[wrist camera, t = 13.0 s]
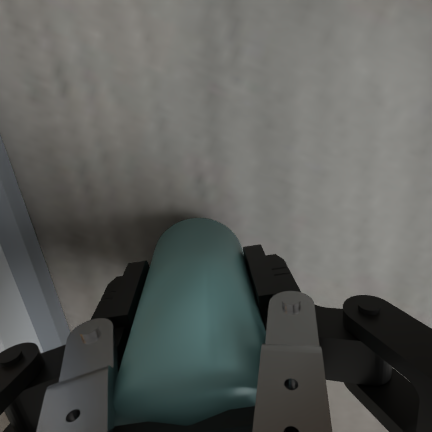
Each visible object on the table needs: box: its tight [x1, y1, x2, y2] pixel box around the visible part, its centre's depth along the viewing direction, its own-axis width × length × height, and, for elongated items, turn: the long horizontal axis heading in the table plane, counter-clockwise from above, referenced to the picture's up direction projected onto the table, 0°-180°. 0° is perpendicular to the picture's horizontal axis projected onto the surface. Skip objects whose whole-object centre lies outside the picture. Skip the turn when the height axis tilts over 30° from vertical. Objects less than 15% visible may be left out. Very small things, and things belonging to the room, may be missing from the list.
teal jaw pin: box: [113, 218, 266, 426], centre depth 10 cm, size 4×4×8 cm
